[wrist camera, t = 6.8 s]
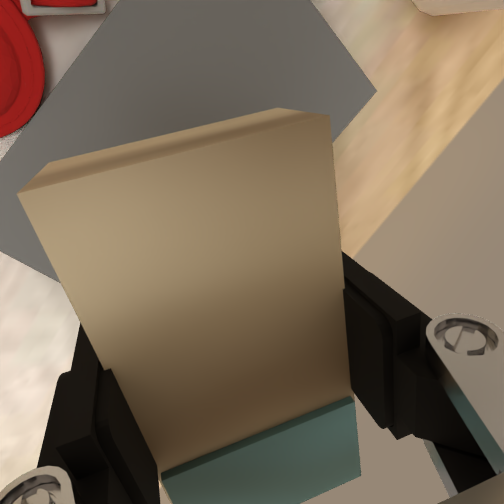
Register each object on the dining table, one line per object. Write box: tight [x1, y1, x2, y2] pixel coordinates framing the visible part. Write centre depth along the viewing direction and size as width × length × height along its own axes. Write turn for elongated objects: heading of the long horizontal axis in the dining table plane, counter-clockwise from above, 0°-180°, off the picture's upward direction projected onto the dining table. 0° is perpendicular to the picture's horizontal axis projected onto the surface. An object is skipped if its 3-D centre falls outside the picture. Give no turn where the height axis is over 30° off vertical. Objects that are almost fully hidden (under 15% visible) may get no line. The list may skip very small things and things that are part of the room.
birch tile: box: [17, 108, 361, 504], centre depth 9 cm, size 10×5×3 cm, turn 12°
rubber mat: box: [0, 0, 377, 283], centre depth 22 cm, size 14×22×1 cm, turn 138°
